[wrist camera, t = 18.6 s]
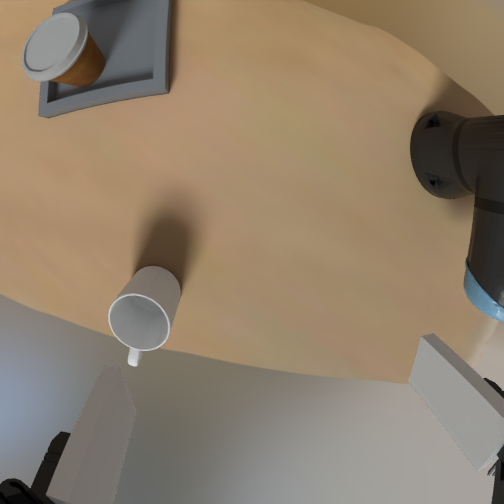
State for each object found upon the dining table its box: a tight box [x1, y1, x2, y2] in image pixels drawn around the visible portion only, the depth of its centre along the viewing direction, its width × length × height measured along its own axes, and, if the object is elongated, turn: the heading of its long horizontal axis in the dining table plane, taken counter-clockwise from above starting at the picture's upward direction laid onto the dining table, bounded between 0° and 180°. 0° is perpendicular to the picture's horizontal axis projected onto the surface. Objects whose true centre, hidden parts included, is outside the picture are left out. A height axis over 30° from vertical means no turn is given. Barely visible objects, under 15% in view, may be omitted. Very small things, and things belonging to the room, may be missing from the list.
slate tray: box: [38, 0, 172, 118], centre depth 31 cm, size 20×20×3 cm
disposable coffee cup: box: [21, 13, 105, 87], centre depth 26 cm, size 10×10×12 cm
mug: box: [108, 266, 181, 366], centre depth 38 cm, size 12×8×10 cm, turn 161°
